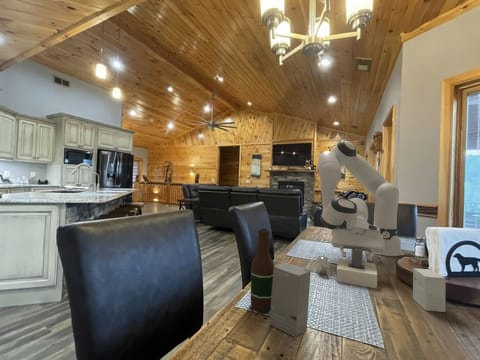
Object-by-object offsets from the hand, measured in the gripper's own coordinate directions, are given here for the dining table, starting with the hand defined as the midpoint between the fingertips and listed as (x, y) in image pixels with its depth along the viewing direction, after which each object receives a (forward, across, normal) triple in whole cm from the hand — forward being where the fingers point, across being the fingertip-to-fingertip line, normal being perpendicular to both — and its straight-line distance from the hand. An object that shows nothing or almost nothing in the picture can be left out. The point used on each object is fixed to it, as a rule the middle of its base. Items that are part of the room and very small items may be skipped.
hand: (356, 258), depth 100 cm
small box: (+15, +21, -3) cm, 26 cm away
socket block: (+6, 0, +6) cm, 8 cm away
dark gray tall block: (+6, 0, +6) cm, 8 cm away
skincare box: (+38, -16, -26) cm, 48 cm away
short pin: (+7, -13, +5) cm, 16 cm away
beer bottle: (+34, -26, -22) cm, 48 cm away
